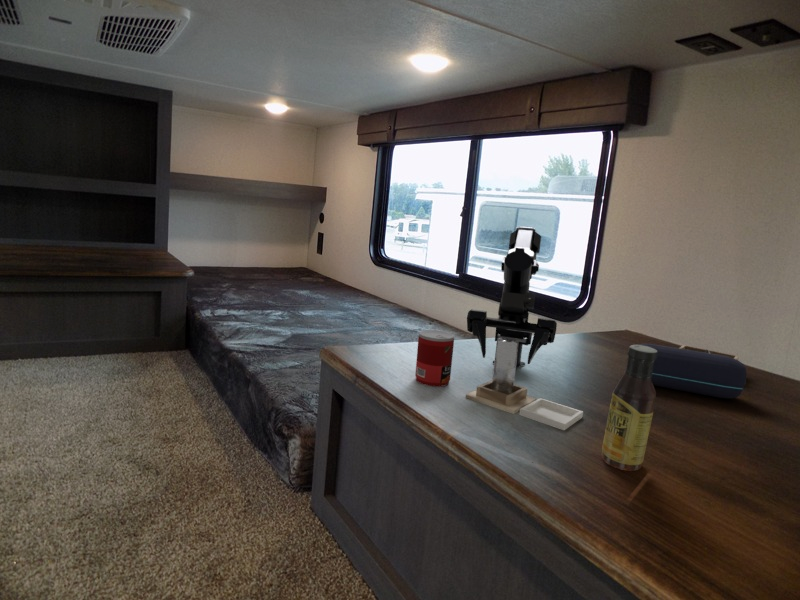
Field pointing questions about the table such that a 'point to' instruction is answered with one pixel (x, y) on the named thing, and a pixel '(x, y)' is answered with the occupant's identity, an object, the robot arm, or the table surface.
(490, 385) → the wooden socket base
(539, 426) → the table surface
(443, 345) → the canned food
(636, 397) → the sauce bottle
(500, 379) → the cylinder
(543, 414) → the tray
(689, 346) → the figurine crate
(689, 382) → the portable speaker
